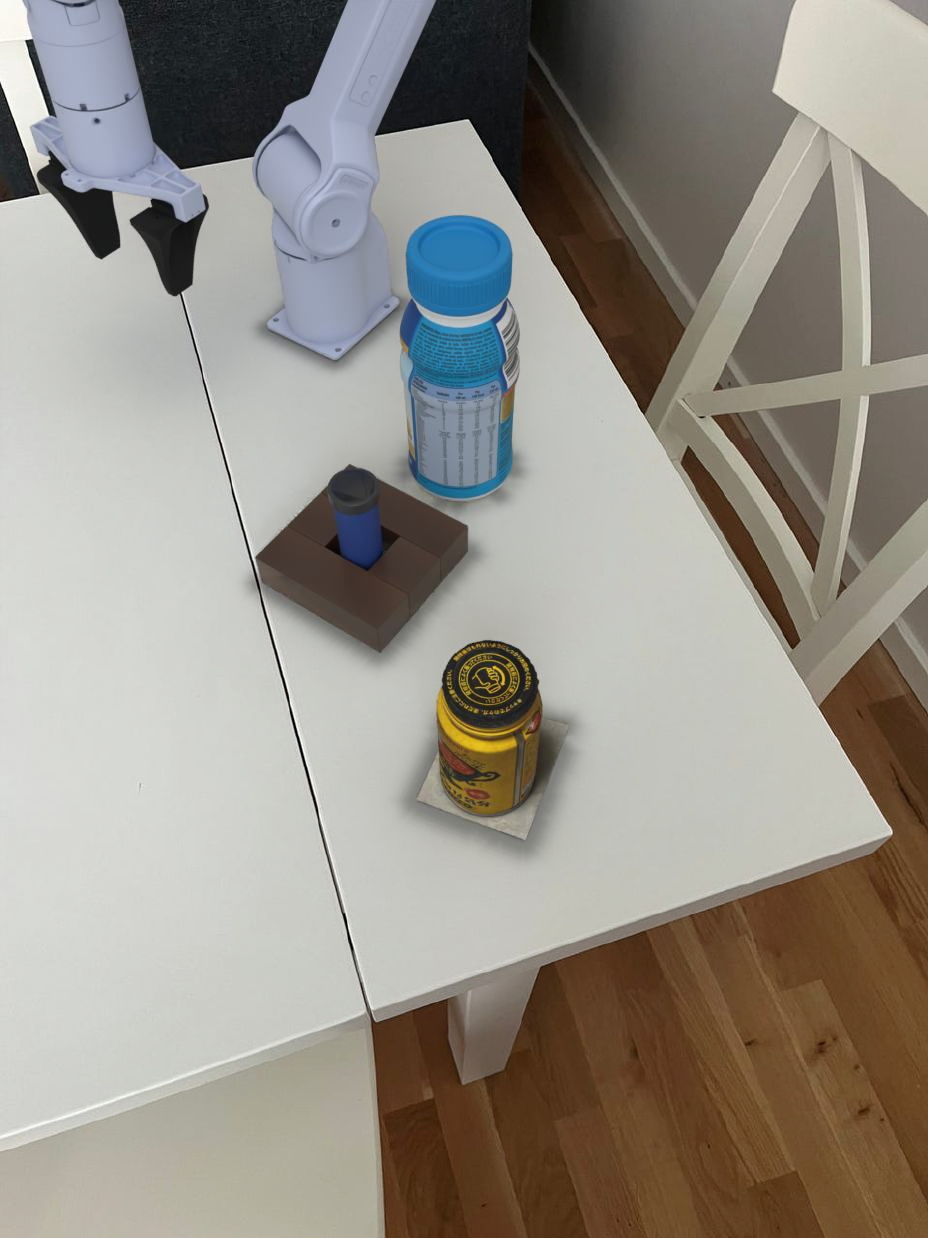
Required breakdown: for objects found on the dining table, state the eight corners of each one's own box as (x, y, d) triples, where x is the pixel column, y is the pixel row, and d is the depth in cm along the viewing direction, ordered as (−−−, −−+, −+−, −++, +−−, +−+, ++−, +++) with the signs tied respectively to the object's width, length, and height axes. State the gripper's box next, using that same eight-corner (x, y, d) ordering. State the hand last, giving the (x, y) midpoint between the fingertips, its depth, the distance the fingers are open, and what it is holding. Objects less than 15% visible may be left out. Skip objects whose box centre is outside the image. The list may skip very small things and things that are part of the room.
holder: (353, 489, 77) (349, 463, 74) (468, 551, 73) (468, 525, 71) (261, 582, 72) (254, 556, 69) (380, 653, 68) (377, 629, 66)
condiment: (415, 801, 62) (406, 707, 52) (465, 692, 66) (465, 586, 56) (525, 842, 60) (537, 753, 50) (568, 727, 65) (587, 625, 55)
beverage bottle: (443, 522, 75) (436, 304, 58) (387, 454, 79) (366, 231, 62) (534, 478, 77) (553, 256, 61) (476, 414, 81) (479, 189, 65)
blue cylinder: (360, 543, 74) (348, 459, 66) (397, 564, 72) (389, 481, 65) (331, 573, 72) (316, 491, 65) (368, 595, 71) (357, 513, 63)
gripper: (-30, 79, 65) (37, 260, 76) (130, 152, 60) (176, 333, 71) (53, 38, 68) (105, 218, 79) (210, 105, 64) (242, 285, 75)
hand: (143, 270), depth 75 cm, fingers open, 7 cm apart
